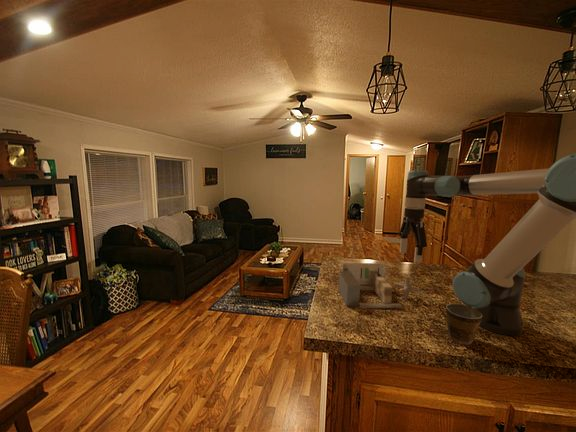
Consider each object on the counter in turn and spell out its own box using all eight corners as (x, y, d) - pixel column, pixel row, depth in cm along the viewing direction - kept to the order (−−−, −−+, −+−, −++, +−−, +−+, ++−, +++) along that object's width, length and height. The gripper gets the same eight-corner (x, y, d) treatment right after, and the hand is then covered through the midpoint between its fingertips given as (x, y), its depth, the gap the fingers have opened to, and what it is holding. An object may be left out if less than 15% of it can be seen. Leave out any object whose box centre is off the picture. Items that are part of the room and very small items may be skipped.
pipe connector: (415, 306, 112) (418, 283, 111) (390, 299, 118) (392, 277, 117) (421, 297, 120) (423, 276, 118) (397, 291, 126) (399, 270, 124)
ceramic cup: (484, 342, 88) (488, 314, 87) (467, 352, 84) (471, 321, 82) (444, 323, 100) (448, 297, 98) (428, 330, 95) (431, 303, 93)
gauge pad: (391, 303, 113) (392, 287, 112) (384, 303, 113) (385, 287, 112) (378, 287, 128) (379, 273, 127) (371, 287, 128) (373, 273, 127)
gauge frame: (401, 308, 110) (404, 280, 108) (347, 307, 109) (348, 279, 108) (383, 287, 130) (385, 263, 128) (337, 287, 129) (338, 262, 127)
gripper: (440, 212, 101) (434, 267, 104) (409, 204, 125) (405, 249, 129) (420, 212, 101) (415, 267, 104) (393, 204, 125) (389, 249, 129)
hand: (409, 257), depth 116 cm, fingers open, 13 cm apart
